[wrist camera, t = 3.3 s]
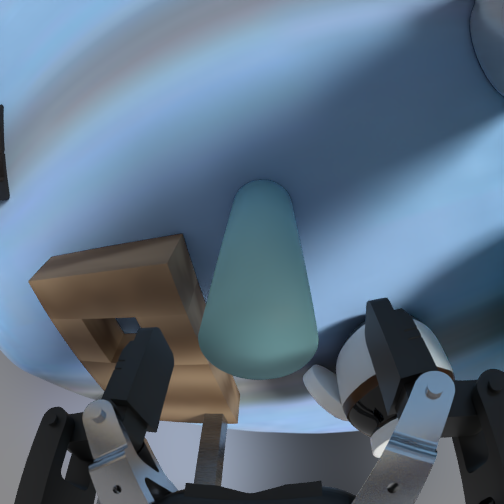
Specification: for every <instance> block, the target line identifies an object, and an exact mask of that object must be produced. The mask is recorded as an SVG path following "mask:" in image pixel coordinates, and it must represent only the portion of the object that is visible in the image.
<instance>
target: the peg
mask: <svg viewBox="0 0 504 504" xmlns="http://www.w3.org/2000/svg"><path fill="white" fill-rule="evenodd" d="M318 341H319V339H318V332H317V326H316V320H315V315H314V309H313V304H312V298H311V293H310V288H309V282H308V277H307V272H306V267H305V262H304V257H303V252H302V247H301V243H300V238H299V233H298V229H297V224H296V220H295V215H294V211H293V206H292V202H291V198H290V196H289V194H288V193H287V191H286V190H285V189H284V188H283V187H282V186H281V185H279V184H278V183H276V182H273V181H270V180H255V181H251V182H249V183H247V184H245V185H244V186H243V187H242V188H240V190H239V191H238V192H237V194H236V196H235V198H234V201H233V205H232V208H231V212H230V215H229V219H228V223H227V226H226V230H225V234H224V237H223V241H222V245H221V248H220V252H219V256H218V260H217V263H216V267H215V271H214V275H213V279H212V282H211V286H210V290H209V294H208V298H207V302H206V306H205V310H204V314H203V318H202V322H201V326H200V330H199V334H198V342H199V347H200V349H201V351H202V353H203V355H204V356H205V358H206V359H207V360H208V361H209V362H210V363H211V364H212V365H214V366H215V367H216V368H218V369H220V370H221V371H223V372H225V373H228V374H230V375H233V376H236V377H240V378H245V379H254V380H266V379H274V378H279V377H283V376H286V375H289V374H291V373H294V372H296V371H298V370H299V369H301V368H302V367H304V366H305V365H306V364H307V363H308V362H309V361H310V360H311V359H312V358H313V356H314V355H315V353H316V351H317V347H318Z"/></svg>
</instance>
